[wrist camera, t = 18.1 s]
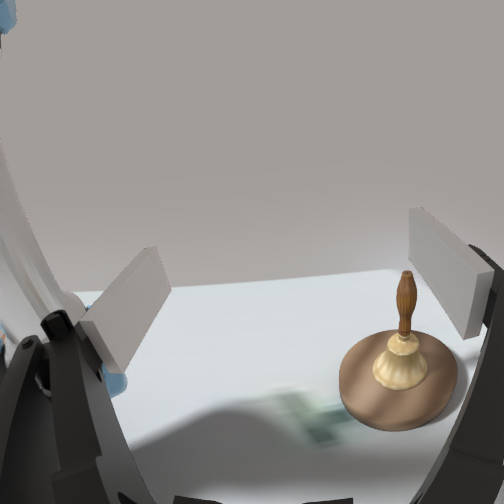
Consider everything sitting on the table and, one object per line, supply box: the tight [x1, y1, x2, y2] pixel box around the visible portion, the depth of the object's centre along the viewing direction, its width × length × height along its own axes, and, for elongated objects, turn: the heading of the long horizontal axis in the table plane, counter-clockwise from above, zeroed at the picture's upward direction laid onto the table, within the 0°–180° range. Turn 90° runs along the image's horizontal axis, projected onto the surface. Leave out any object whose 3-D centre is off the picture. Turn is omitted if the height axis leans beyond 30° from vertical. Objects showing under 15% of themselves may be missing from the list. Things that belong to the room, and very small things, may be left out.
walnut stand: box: [339, 330, 457, 431], centre depth 38 cm, size 18×18×3 cm
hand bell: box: [372, 271, 427, 390], centre depth 34 cm, size 8×8×16 cm
